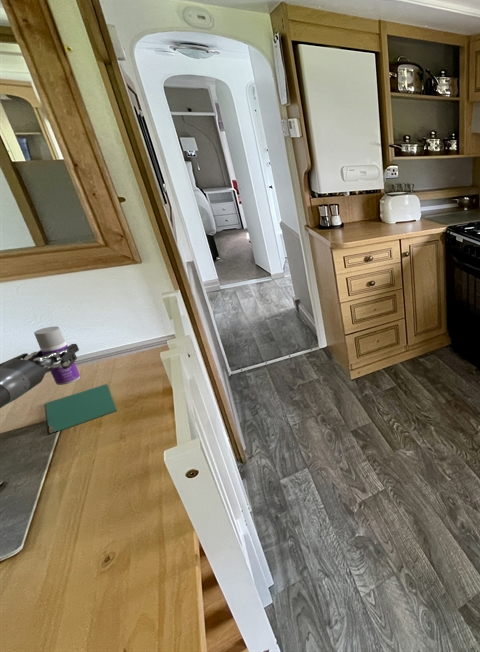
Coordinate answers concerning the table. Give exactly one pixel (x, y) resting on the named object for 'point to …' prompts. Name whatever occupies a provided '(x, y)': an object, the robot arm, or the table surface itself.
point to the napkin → (79, 408)
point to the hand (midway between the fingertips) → (63, 347)
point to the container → (53, 343)
